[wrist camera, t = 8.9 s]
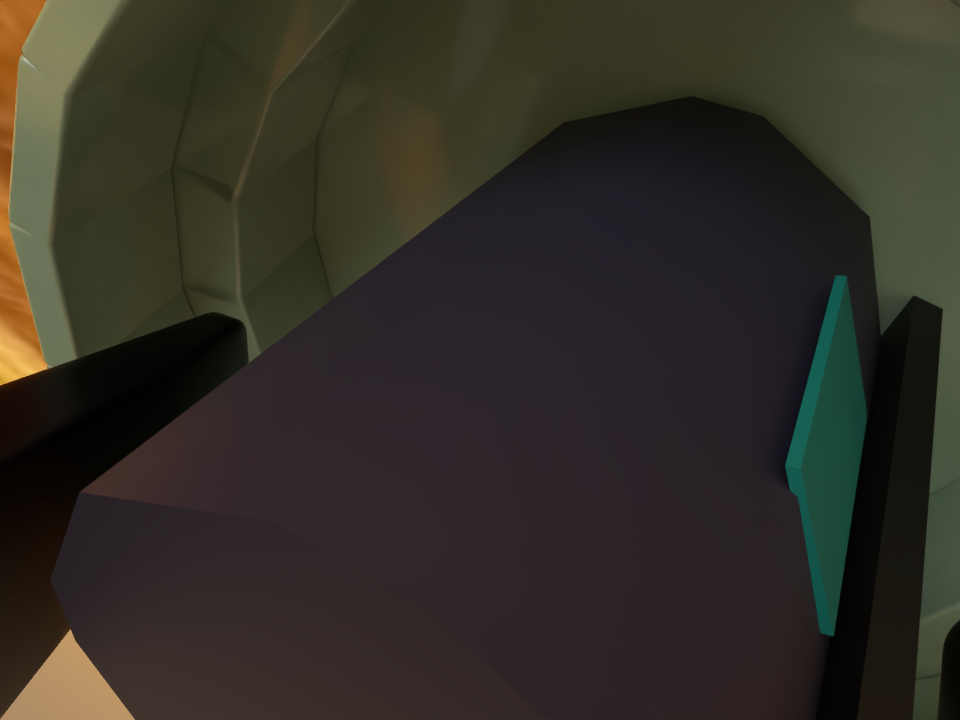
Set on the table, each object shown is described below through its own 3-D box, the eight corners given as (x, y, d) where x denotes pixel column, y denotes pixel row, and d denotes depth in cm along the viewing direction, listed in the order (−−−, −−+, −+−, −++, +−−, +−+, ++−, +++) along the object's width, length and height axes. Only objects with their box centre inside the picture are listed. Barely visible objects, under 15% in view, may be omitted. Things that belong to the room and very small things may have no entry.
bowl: (1428, 447, 10) (1785, 865, 6) (576, 635, 19) (513, 856, 15) (861, -811, 6) (914, -1703, 2) (118, 174, 15) (-121, 317, 11)
